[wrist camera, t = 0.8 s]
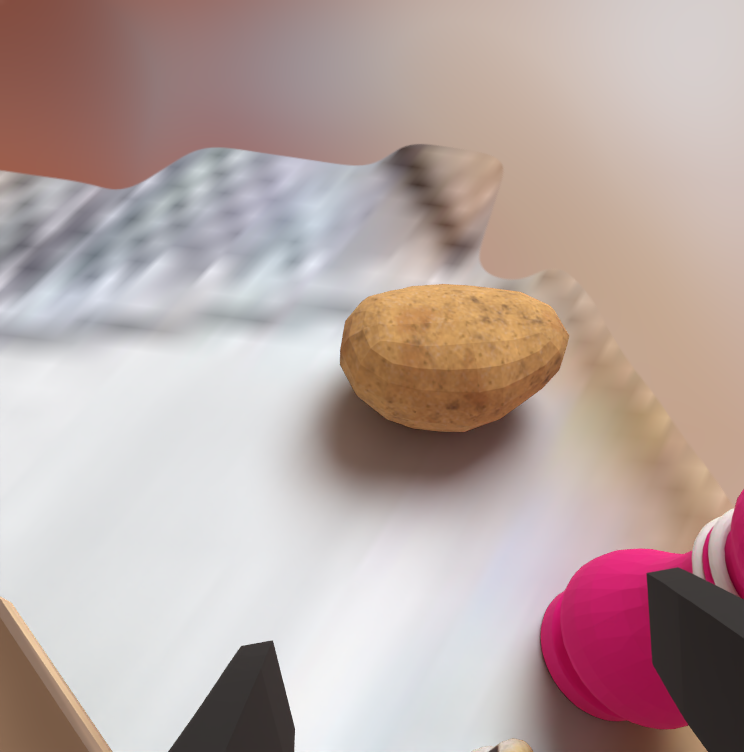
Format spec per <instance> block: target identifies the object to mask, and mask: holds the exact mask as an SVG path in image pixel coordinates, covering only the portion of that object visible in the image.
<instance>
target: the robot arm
mask: <svg viewBox="0 0 744 752" xmlns="http://www.w3.org/2000/svg"><path fill="white" fill-rule="evenodd" d="M646 574H647V589H648V605H649V620H650V636H651V651H652V664H653V666H654V668H655V669H656V671H657V673H658V675H659V677H660V678H661V680H662V682H663V684H664V685H665V687H666V689H667V691H668V693H669V694H670V696H671V698H672V699H673V701H674V703H675V704H676V706H677V708H678V709H679V711H680V713H681V714H682V716H683V718H684V719H685V721H686V722H687V723H688V725H689V726H690V728H691V729H692V730H693V732H694V733H695V735H696V736H697V737H698V739H699V740H700V741H701V743H702V744H703V746H704V747H705V748H706V750H707V751H708V752H744V599H742V598H740V597H738V596H736V595H734V594H732V593H730V592H728V591H726V590H724V589H722V588H720V587H718V586H716V585H714V584H712V583H710V582H708V581H706V580H704V579H702V578H700V577H698V576H696V575H694V574H692V573H690V572H688V571H686V570H683V569H681V568H679V567H676V568H671V569H665V570H660V571H654V572H649V573H646ZM294 740H295V727H294V723H293V719H292V715H291V711H290V707H289V703H288V699H287V695H286V691H285V687H284V683H283V679H282V675H281V671H280V667H279V663H278V659H277V655H276V651H275V647H274V643H273V641H267V642H262V643H256V644H250V645H245V646H241V647H240V649H239V650H238V651H237V653H236V654H235V656H234V657H233V658H232V660H231V661H230V663H229V664H228V666H227V667H226V669H225V670H224V672H223V673H222V675H221V676H220V678H219V679H218V681H217V682H216V684H215V685H214V687H213V688H212V690H211V691H210V693H209V694H208V696H207V697H206V699H205V700H204V702H203V703H202V705H201V706H200V708H199V709H198V710H197V712H196V713H195V715H194V716H193V718H192V719H191V720H190V722H189V723H188V725H187V726H186V728H185V729H184V730H183V732H182V733H181V735H180V736H179V737H178V739H177V740H176V742H175V743H174V745H173V746H172V747H171V749H170V750H169V751H168V752H294Z"/></svg>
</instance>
